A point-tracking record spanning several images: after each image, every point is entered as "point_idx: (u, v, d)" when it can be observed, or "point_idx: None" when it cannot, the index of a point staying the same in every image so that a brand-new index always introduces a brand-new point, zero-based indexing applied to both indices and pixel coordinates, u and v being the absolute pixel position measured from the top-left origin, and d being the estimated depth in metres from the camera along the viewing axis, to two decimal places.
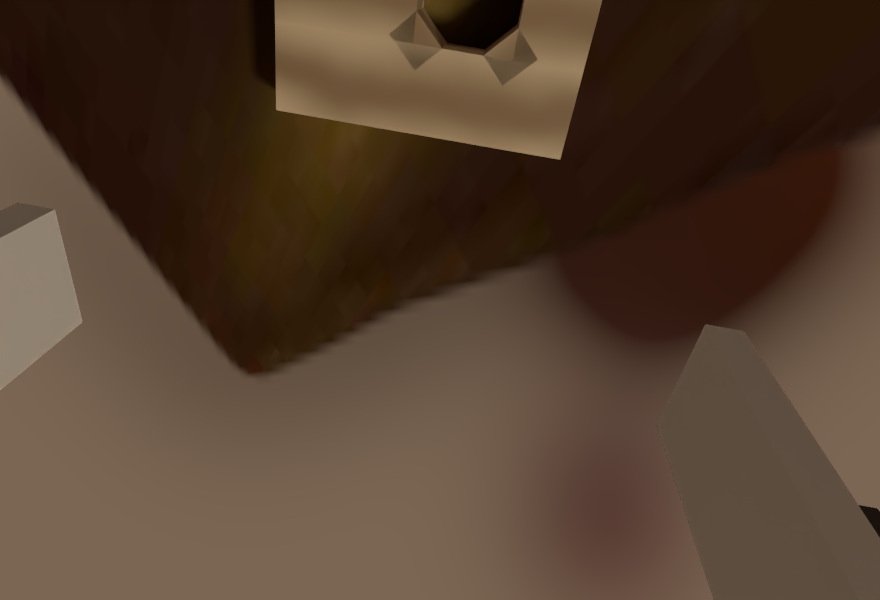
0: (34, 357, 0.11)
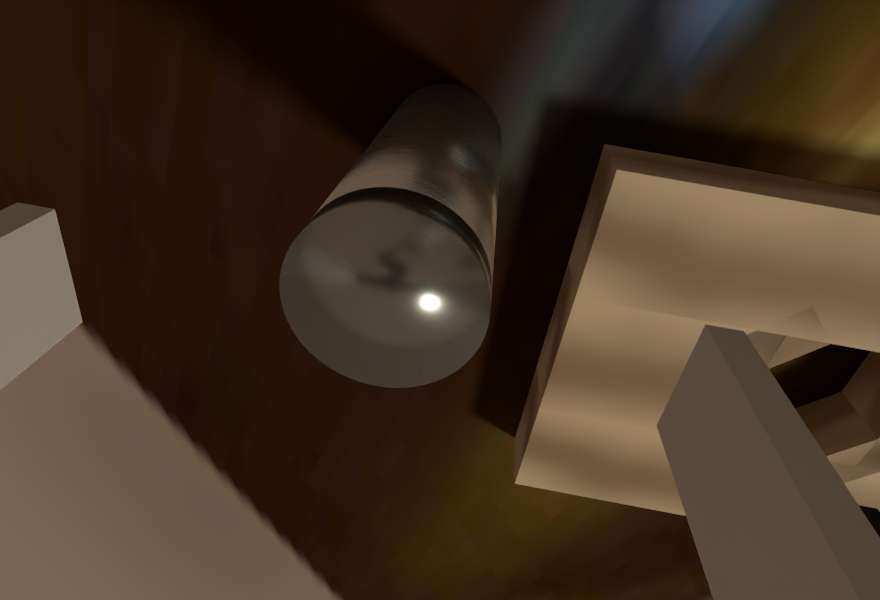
0: (34, 357, 0.11)
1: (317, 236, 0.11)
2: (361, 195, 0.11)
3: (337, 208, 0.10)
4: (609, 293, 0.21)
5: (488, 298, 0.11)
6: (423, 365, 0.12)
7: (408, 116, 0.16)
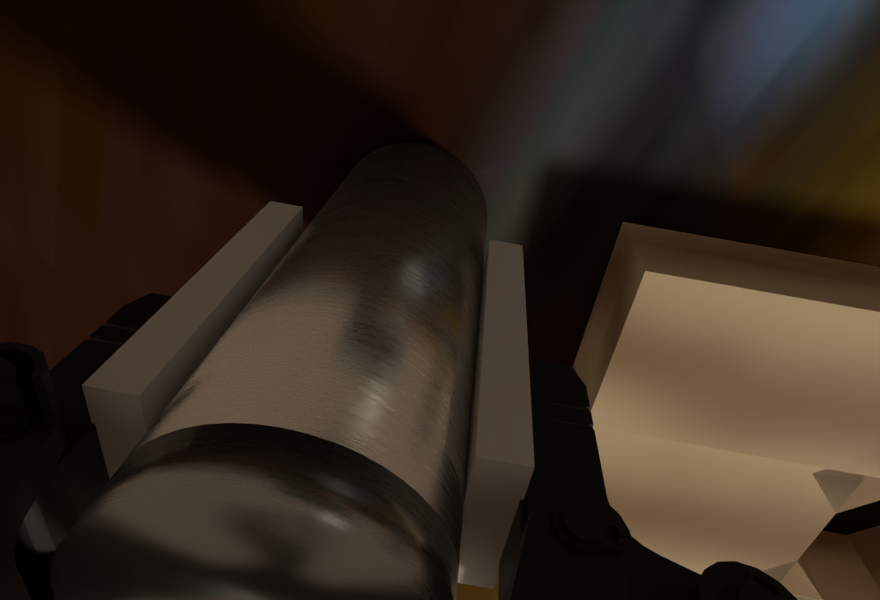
0: None
1: (102, 539, 0.05)
2: (194, 450, 0.05)
3: (136, 492, 0.05)
4: (631, 421, 0.15)
5: None
6: None
7: (346, 209, 0.11)
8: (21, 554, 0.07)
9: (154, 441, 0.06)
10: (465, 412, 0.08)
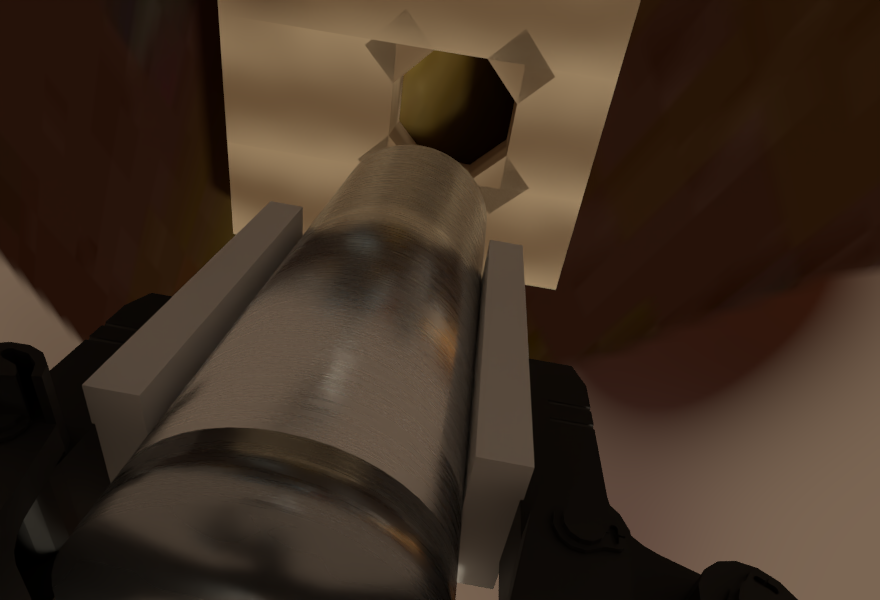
0: None
1: (102, 544, 0.05)
2: (195, 455, 0.06)
3: (137, 496, 0.05)
4: (243, 7, 0.24)
5: None
6: None
7: (345, 212, 0.11)
8: (21, 554, 0.07)
9: (155, 445, 0.06)
10: (464, 415, 0.08)
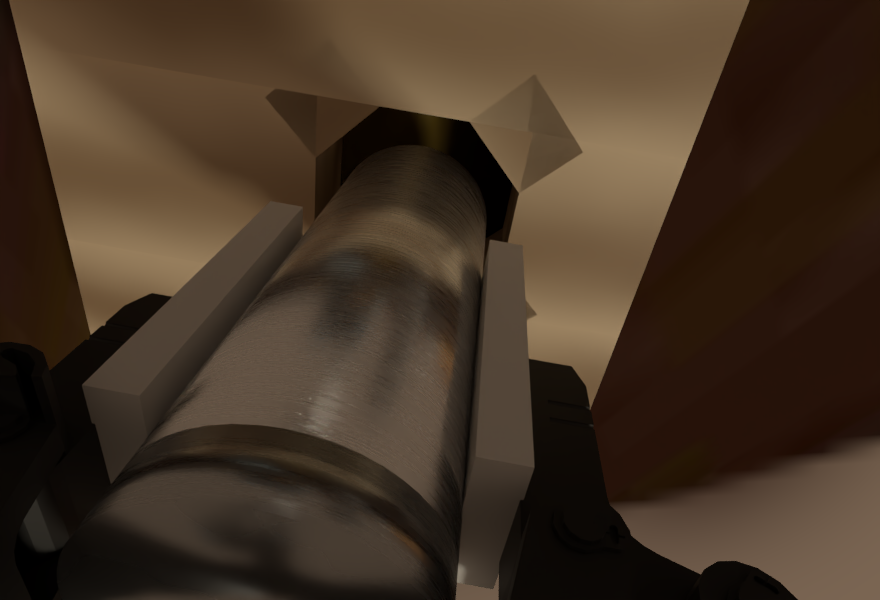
0: None
1: (108, 538, 0.05)
2: (199, 451, 0.06)
3: (141, 492, 0.05)
4: (59, 33, 0.14)
5: None
6: None
7: (346, 211, 0.11)
8: (21, 554, 0.07)
9: (159, 442, 0.06)
10: (464, 413, 0.08)
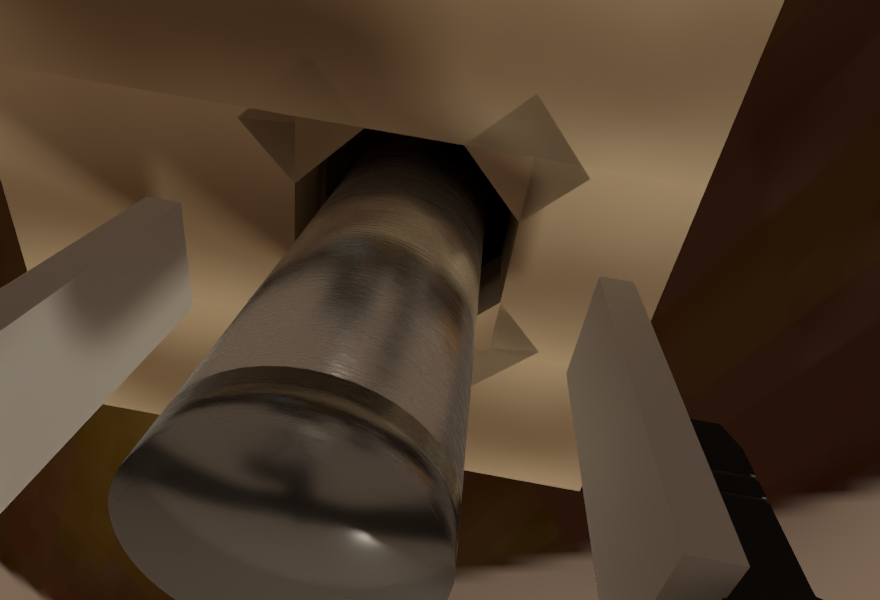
0: (159, 337, 0.12)
1: (157, 462, 0.06)
2: (235, 387, 0.06)
3: (187, 419, 0.06)
4: (8, 47, 0.13)
5: (451, 554, 0.07)
6: None
7: (355, 193, 0.12)
8: None
9: (197, 383, 0.07)
10: (466, 371, 0.09)
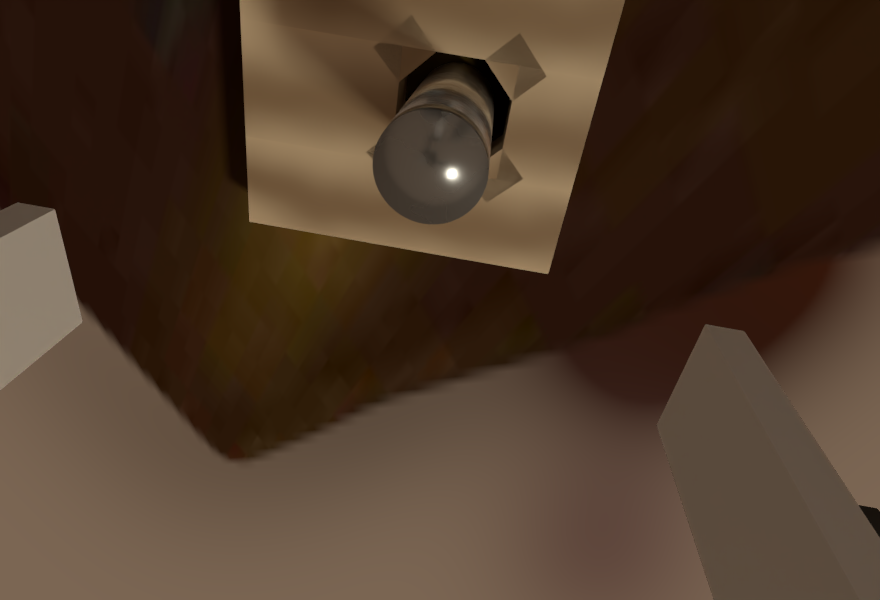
0: (34, 357, 0.11)
1: (396, 128, 0.20)
2: (419, 107, 0.20)
3: (407, 112, 0.20)
4: (263, 12, 0.27)
5: (487, 163, 0.20)
6: (451, 208, 0.21)
7: (435, 78, 0.26)
8: None
9: (402, 111, 0.20)
10: (489, 135, 0.23)
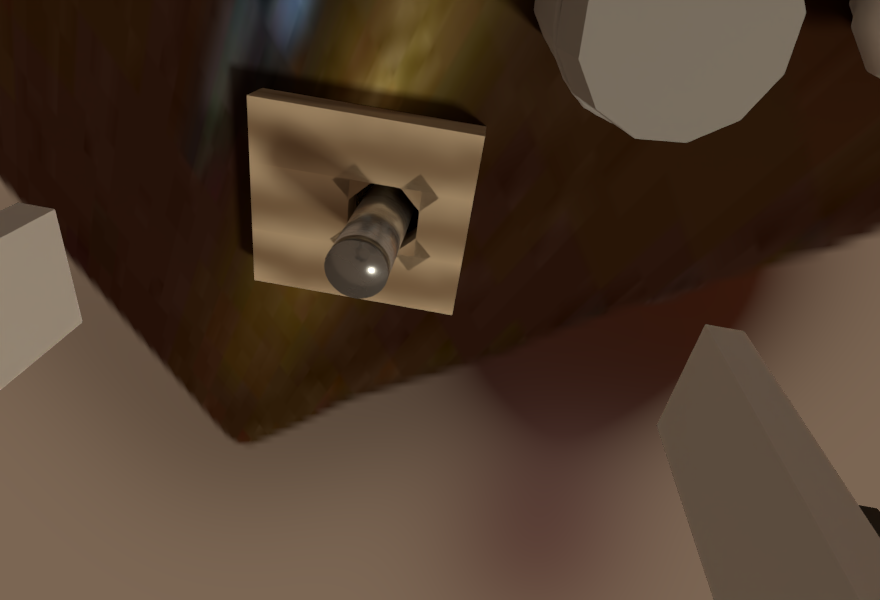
0: (34, 357, 0.11)
1: (336, 249, 0.36)
2: (349, 237, 0.37)
3: (342, 241, 0.36)
4: (263, 158, 0.43)
5: (386, 267, 0.37)
6: (369, 290, 0.38)
7: (368, 202, 0.42)
8: None
9: (340, 238, 0.37)
10: (394, 244, 0.39)
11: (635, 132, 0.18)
